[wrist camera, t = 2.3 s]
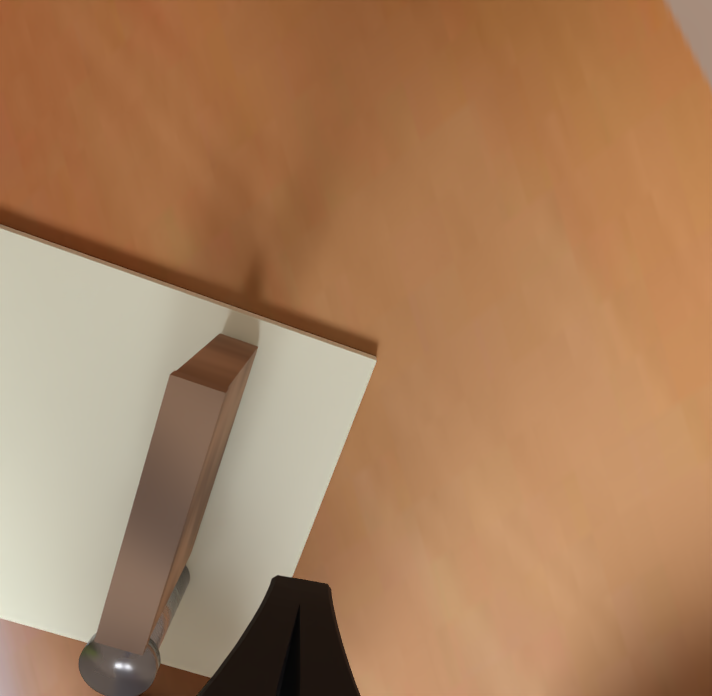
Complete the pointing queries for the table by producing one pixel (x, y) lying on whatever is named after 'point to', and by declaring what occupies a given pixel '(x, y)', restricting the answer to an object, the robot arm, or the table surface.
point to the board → (132, 440)
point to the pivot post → (130, 655)
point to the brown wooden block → (174, 489)
